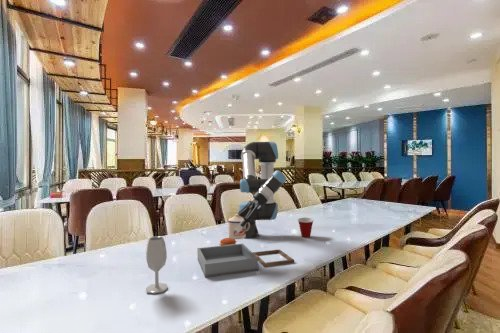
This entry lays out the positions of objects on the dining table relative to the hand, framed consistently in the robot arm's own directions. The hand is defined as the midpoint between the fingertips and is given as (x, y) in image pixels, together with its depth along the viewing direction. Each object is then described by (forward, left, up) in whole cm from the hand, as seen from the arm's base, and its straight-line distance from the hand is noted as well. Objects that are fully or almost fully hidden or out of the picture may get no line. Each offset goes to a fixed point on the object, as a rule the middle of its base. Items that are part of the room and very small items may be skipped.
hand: (233, 228), depth 146 cm
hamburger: (-24, +3, -18) cm, 30 cm away
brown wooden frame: (0, +21, -18) cm, 27 cm away
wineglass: (+18, -37, -18) cm, 45 cm away
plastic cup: (-33, +59, -18) cm, 70 cm away
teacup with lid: (0, +3, -5) cm, 6 cm away
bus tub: (0, -4, -18) cm, 18 cm away
